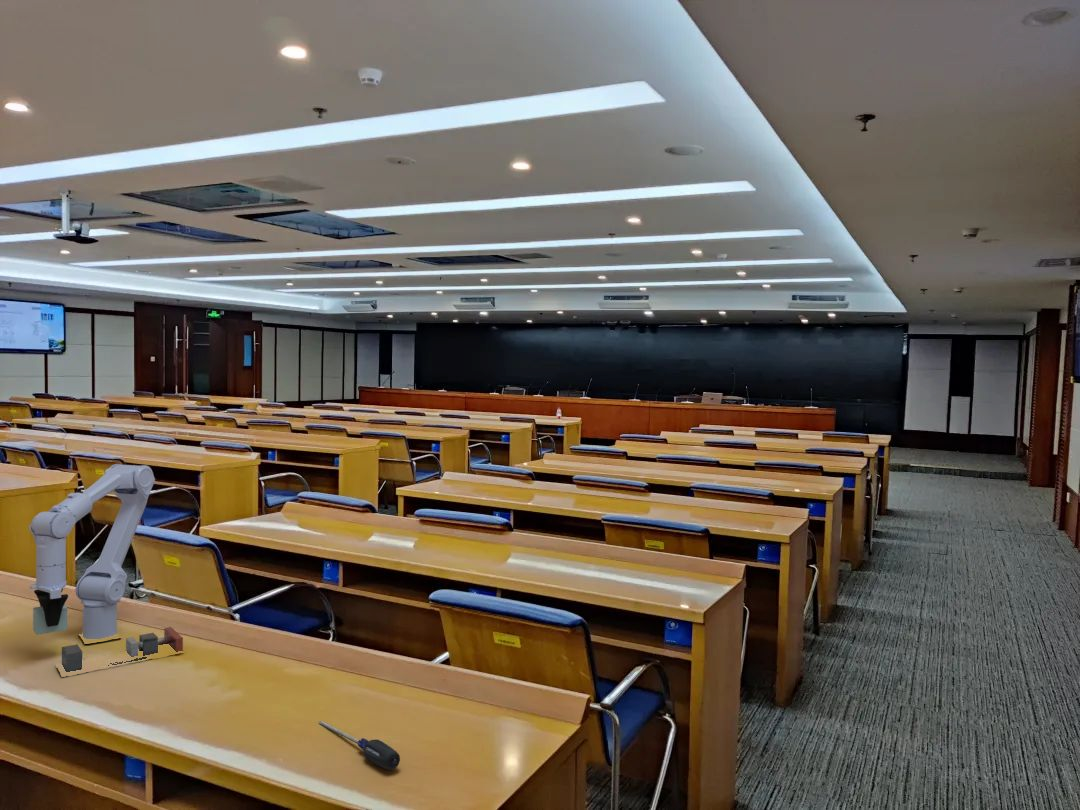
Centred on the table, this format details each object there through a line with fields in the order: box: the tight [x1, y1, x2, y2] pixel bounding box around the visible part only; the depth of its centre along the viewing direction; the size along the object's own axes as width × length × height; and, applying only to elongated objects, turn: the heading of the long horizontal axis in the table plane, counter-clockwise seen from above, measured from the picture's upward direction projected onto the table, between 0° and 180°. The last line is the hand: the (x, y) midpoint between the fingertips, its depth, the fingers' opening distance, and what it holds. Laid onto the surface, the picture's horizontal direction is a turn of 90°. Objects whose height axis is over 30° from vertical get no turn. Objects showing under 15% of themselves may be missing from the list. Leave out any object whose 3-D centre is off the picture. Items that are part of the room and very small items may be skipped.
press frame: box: [61, 632, 159, 672], centre depth 173 cm, size 8×25×5 cm, turn 131°
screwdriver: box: [318, 720, 401, 771], centre depth 134 cm, size 26×4×4 cm, turn 44°
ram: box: [125, 626, 184, 657], centre depth 177 cm, size 10×10×3 cm
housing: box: [32, 603, 68, 636], centre depth 172 cm, size 5×6×6 cm
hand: (50, 622), depth 172 cm, fingers closed on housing, 5 cm apart
